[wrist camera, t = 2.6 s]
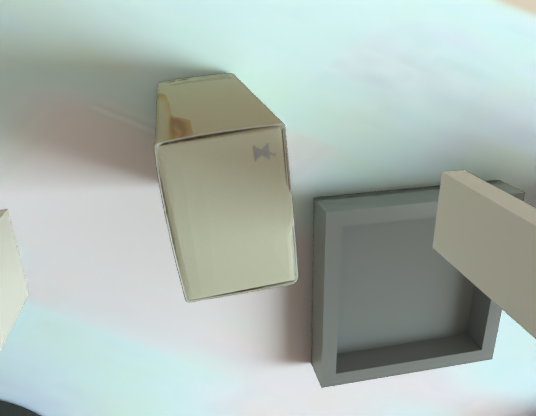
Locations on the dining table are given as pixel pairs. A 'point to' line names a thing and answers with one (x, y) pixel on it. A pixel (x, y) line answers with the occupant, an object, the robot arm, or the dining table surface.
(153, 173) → the dining table surface
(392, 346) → the tray
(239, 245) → the skincare box
